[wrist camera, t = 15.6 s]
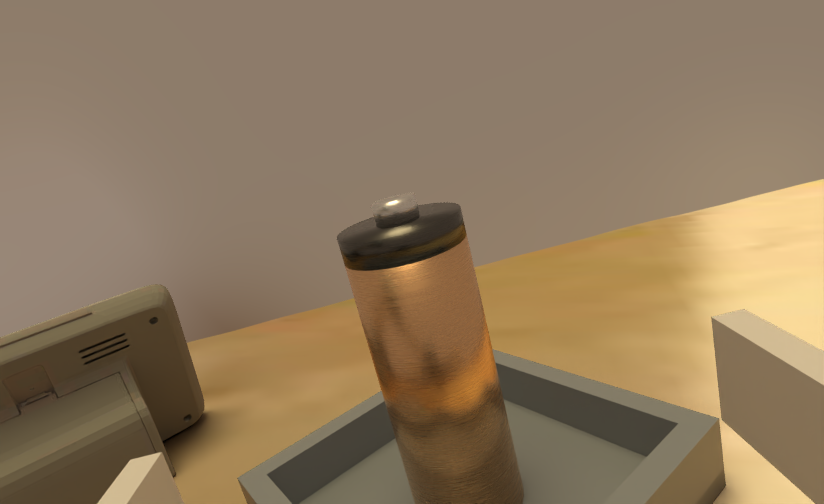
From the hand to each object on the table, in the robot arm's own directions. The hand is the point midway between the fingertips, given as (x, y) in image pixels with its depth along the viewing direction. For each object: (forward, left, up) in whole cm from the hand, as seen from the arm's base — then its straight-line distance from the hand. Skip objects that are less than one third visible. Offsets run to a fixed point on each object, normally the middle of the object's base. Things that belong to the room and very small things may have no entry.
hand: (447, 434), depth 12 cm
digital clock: (-26, -9, -9) cm, 29 cm away
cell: (-6, +4, -8) cm, 11 cm away
